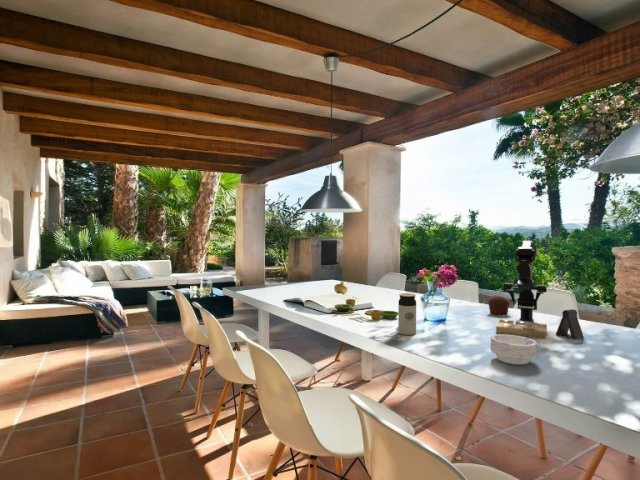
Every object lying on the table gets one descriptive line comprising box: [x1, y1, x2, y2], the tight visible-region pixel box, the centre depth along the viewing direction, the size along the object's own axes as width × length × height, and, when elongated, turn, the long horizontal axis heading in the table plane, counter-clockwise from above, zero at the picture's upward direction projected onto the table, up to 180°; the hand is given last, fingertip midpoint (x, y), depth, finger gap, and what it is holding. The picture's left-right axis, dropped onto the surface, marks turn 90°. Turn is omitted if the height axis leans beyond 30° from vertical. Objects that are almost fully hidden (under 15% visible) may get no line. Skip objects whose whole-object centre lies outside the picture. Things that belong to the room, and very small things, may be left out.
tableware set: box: [331, 298, 398, 323], centre depth 232 cm, size 41×28×6 cm
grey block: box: [515, 319, 532, 326], centre depth 197 cm, size 10×6×4 cm, turn 149°
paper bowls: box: [490, 334, 538, 366], centre depth 148 cm, size 15×15×8 cm
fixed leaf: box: [495, 319, 548, 339], centre depth 189 cm, size 14×20×4 cm
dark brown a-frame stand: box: [555, 308, 585, 341], centre depth 182 cm, size 9×6×12 cm, turn 26°
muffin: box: [487, 295, 511, 317], centre depth 232 cm, size 12×11×10 cm
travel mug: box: [397, 292, 417, 336], centre depth 187 cm, size 8×8×18 cm
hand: (524, 305), depth 199 cm, fingers open, 9 cm apart
